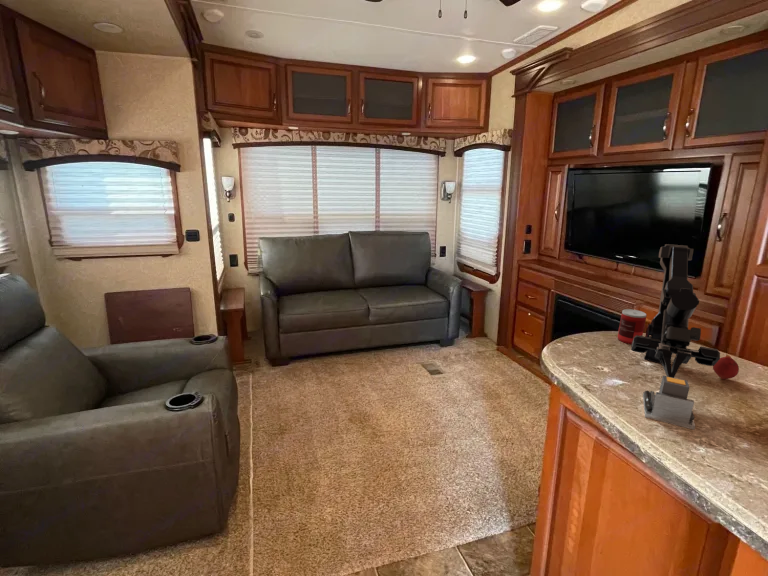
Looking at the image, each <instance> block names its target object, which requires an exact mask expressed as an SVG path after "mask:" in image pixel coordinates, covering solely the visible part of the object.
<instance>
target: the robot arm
mask: <svg viewBox="0 0 768 576" xmlns="http://www.w3.org/2000/svg"><path fill="white" fill-rule="evenodd" d="M659 248H660V249H659V252H658V258H660V261H659V264H660V266H661V268H662V270H663V279H662V287H661V293H660V299H659V300H660V301H659V304H658V305H659V307H658V313H657V314H656V315H655V316H654V317H653V318H652V319H651V321H650V322H651V323H648V325H647V328H646V330H645V336H644V335H642V336H638V335H636V336H635V337H634V339H633V342H632V344H631V347H630V350H631V352H634V353H635V352H636V353H641V354H645V355H644V358H643V359H644V360H647V361H650V362H655V363H658V364H661V365H662V367H663V370H664V372H665V376H668V377H673V378H675V377H676V374H677V372H678V370H679V369H680V367H681V366H682V364H684V365H686V364H688V363H689V362H690V360H691V358H694V360H695V362H696V363H697V364H699V365H704V366H709V367H713V366H714V365H715V364H716V363H717V362H718V360H719V359H720V358H721V352H720V351H719V350H718V349H717V348H713V347H708V346H707V347H706V346H700V347H699V348H698V349H693V348H692V349H691V348H687V347H689V346H690V344H691V341H697V342H698V341H701V334H702V328H699V327H694V326H693V327H691V328H689V320H690V318H691V317H692V316H693V314H694V312H695V310H696V309H697V307H698V306H699V304H700V299H699V298H698V296H697V294H696V292H694V285H693V284H692V283H691V282H690V281H689V279H688V272H689V270H688V267H689V266H688V264H689V261H692V260H693V254H694V248H690V247H689V246H688V245H683V244H680V245H678V244H669V243H668V244H667V243H666V244H664V246H661V247H659ZM673 354H675V357H674V359H673V360H672V357H673ZM672 361H673V362H672Z"/></svg>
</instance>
